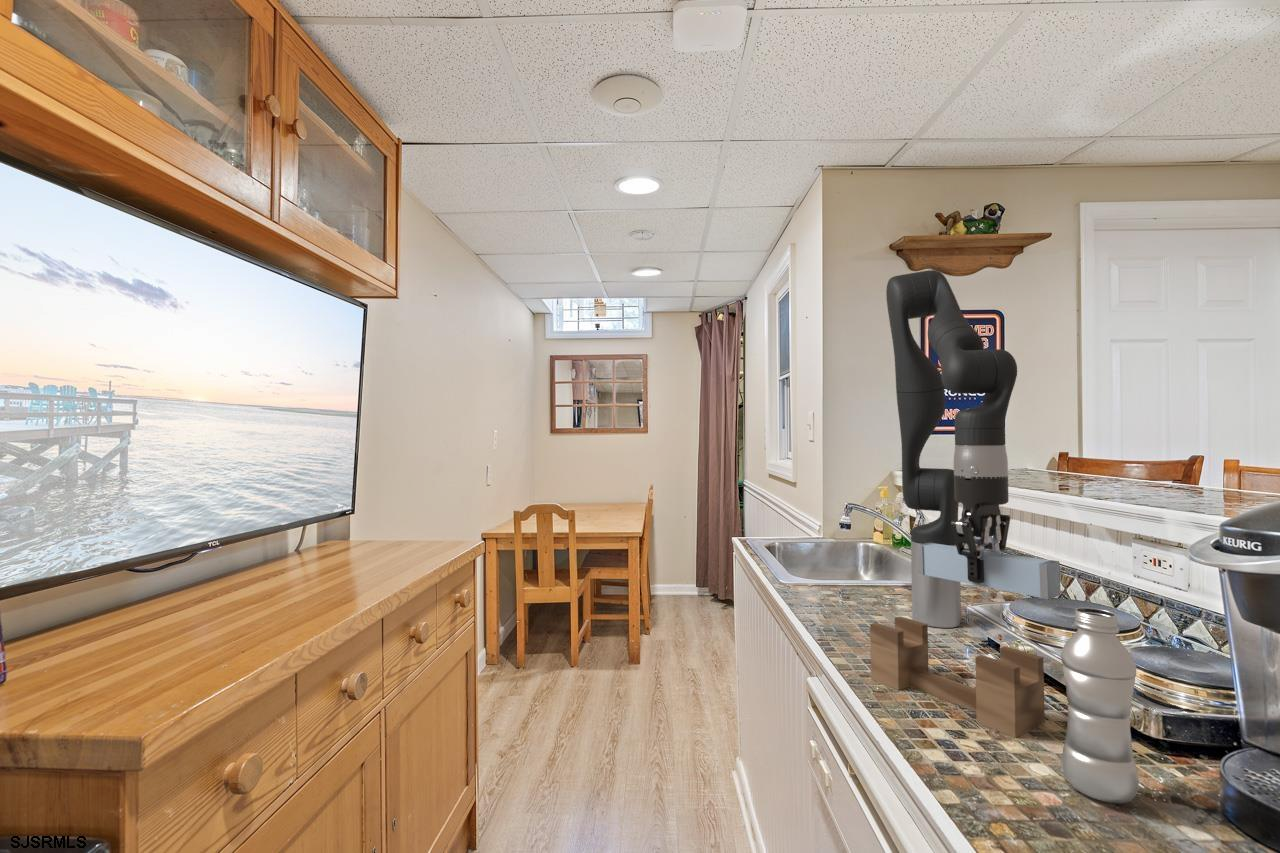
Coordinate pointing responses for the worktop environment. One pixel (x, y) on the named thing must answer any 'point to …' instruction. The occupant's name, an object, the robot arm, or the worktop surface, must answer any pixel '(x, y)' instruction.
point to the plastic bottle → (1099, 709)
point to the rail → (993, 570)
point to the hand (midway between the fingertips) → (982, 579)
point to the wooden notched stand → (1001, 692)
